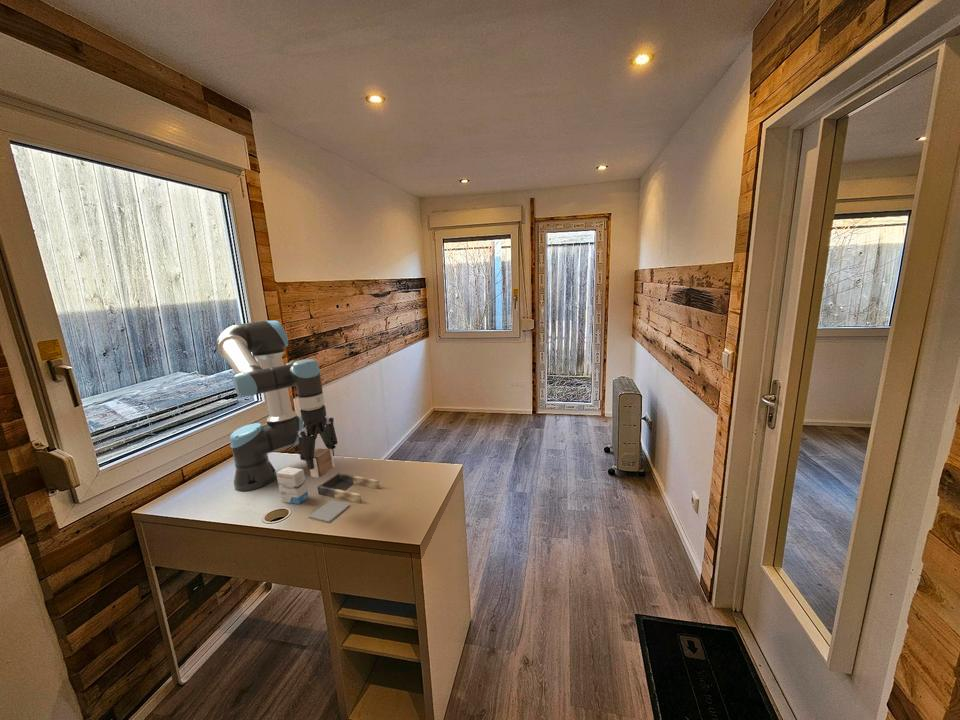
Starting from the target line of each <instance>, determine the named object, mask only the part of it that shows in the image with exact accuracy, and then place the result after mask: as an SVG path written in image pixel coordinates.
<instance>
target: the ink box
mask: <svg viewBox="0 0 960 720" xmlns="http://www.w3.org/2000/svg"><path fill="white" fill-rule="evenodd" d="M304 470H305V469H302V468H296V467H291V466H290V467H289V466H286V467H284V468H282V469H281V470H278V471H276V475H277V476H276V480H277V484H278V490H279V495H280V496H279V497H280V500H281V501H280V502H283V503H290V504H294V505H295V504H296V505H300V504H302V503H303V502H305V500H307V499H308V498H309V493H308V489H307V488H308V487H307V483H306V477H305V471H304Z"/></svg>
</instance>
